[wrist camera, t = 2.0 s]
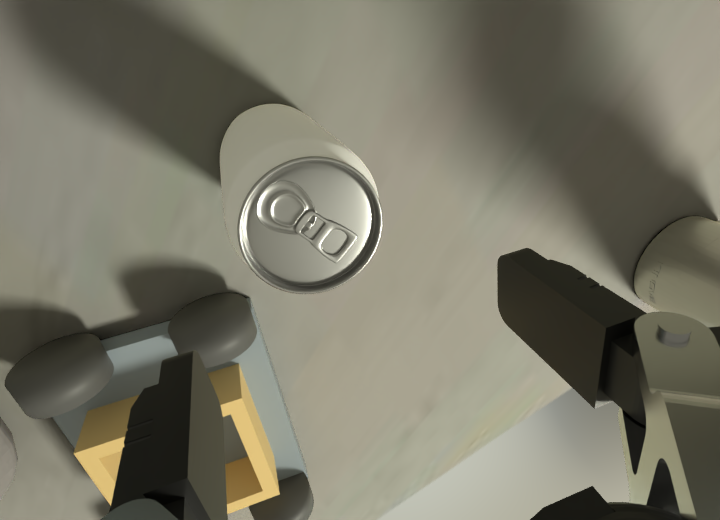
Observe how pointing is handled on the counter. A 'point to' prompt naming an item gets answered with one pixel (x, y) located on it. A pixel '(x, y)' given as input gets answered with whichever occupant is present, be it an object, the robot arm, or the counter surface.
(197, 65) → the counter surface
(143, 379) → the chassis
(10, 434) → the coffee pot
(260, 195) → the can
